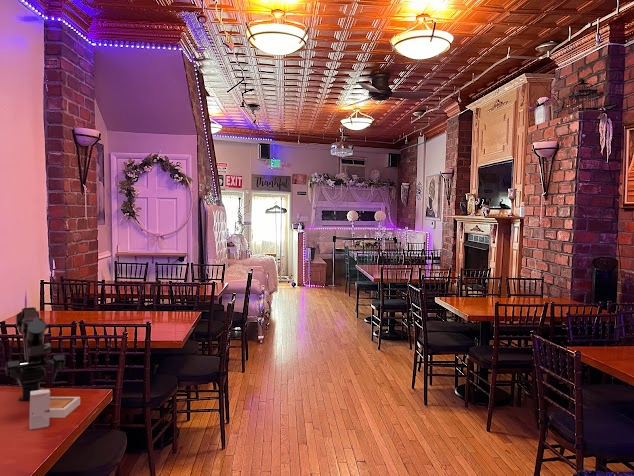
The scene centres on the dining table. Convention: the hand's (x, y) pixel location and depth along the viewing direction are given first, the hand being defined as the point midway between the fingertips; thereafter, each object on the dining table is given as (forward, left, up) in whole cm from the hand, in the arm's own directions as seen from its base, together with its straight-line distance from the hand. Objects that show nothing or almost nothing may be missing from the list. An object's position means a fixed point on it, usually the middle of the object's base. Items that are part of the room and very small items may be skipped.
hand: (38, 385), depth 168 cm
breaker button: (-8, +2, -11) cm, 13 cm away
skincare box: (+5, +3, -12) cm, 14 cm away
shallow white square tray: (-8, +2, -12) cm, 15 cm away
